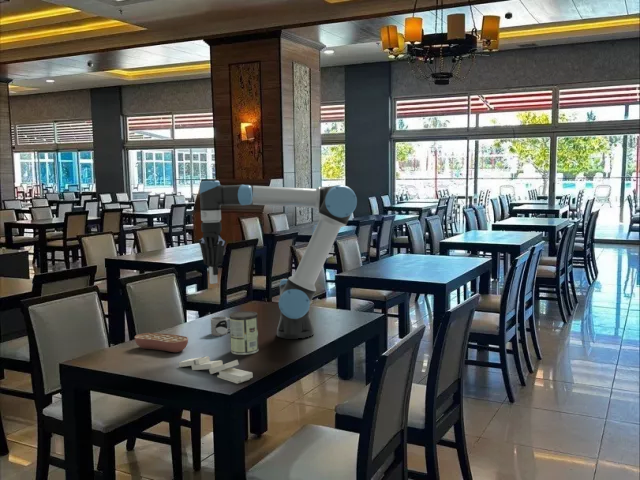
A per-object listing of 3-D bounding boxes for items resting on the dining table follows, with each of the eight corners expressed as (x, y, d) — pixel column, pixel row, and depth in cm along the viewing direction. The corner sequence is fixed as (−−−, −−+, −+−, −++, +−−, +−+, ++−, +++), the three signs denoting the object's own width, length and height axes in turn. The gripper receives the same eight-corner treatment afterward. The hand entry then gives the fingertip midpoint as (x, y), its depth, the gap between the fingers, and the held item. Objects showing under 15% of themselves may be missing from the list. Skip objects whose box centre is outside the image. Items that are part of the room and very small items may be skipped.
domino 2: (203, 366, 216) (222, 364, 210) (192, 370, 212) (211, 368, 206) (202, 362, 216) (222, 360, 210) (191, 365, 212) (210, 363, 206)
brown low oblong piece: (130, 350, 240) (129, 337, 240) (147, 343, 249) (147, 331, 249) (177, 356, 230) (177, 343, 230) (194, 349, 239) (194, 336, 239)
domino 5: (229, 376, 208) (249, 382, 201) (217, 380, 204) (237, 386, 197) (229, 371, 208) (249, 377, 201) (217, 375, 204) (237, 381, 197)
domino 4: (230, 372, 207) (252, 377, 201) (219, 376, 203) (241, 381, 197) (230, 367, 207) (252, 372, 201) (219, 371, 203) (241, 376, 197)
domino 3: (222, 370, 211) (238, 364, 204) (210, 374, 207) (226, 368, 200) (221, 365, 211) (237, 359, 204) (208, 369, 207) (224, 363, 200)
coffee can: (238, 346, 241) (237, 310, 240) (263, 348, 238) (261, 311, 236) (225, 354, 231) (224, 316, 230) (251, 355, 228) (250, 317, 227)
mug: (216, 336, 257) (216, 320, 257) (208, 334, 262) (207, 318, 262) (237, 332, 264) (236, 316, 263) (228, 329, 269) (228, 314, 268)
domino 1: (190, 363, 220) (210, 361, 214) (179, 367, 216) (199, 364, 210) (189, 358, 220) (209, 356, 214) (178, 362, 216) (198, 359, 210)
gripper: (192, 221, 239) (194, 283, 242) (216, 222, 231) (218, 286, 234) (206, 220, 245) (209, 280, 248) (230, 221, 237) (232, 283, 240)
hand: (213, 283), depth 241 cm, fingers closed
